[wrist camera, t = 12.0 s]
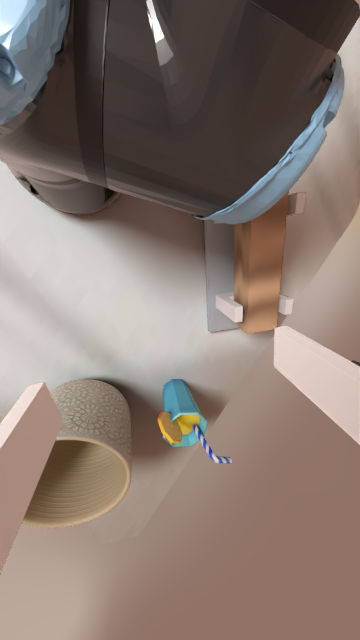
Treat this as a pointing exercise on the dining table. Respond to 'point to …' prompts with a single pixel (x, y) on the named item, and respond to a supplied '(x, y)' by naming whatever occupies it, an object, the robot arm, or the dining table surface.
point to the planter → (84, 457)
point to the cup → (183, 419)
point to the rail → (259, 267)
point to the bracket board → (232, 271)
